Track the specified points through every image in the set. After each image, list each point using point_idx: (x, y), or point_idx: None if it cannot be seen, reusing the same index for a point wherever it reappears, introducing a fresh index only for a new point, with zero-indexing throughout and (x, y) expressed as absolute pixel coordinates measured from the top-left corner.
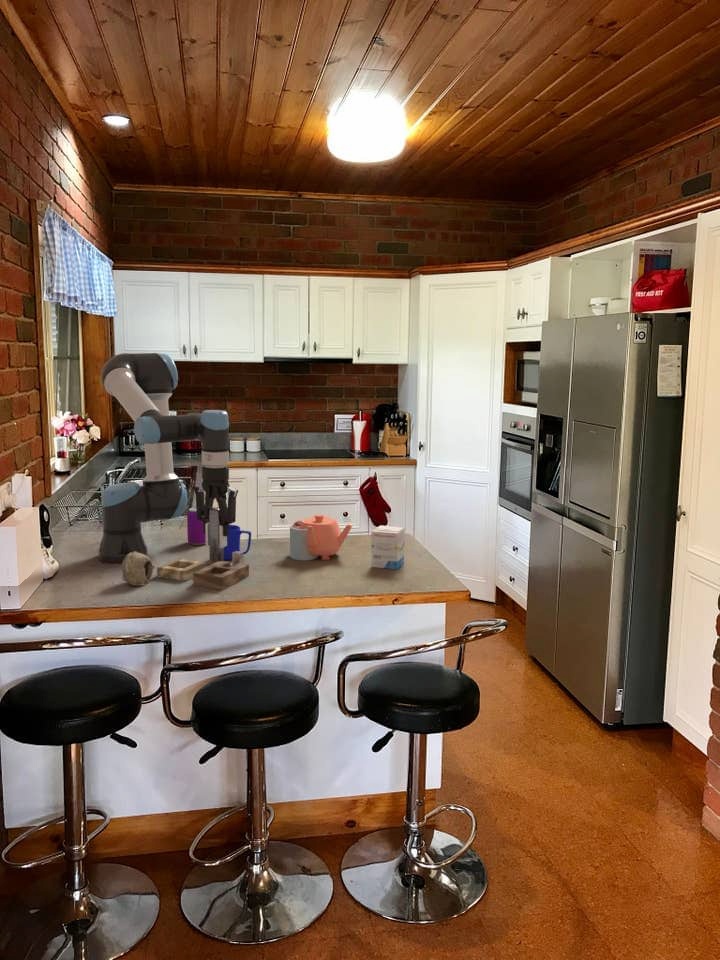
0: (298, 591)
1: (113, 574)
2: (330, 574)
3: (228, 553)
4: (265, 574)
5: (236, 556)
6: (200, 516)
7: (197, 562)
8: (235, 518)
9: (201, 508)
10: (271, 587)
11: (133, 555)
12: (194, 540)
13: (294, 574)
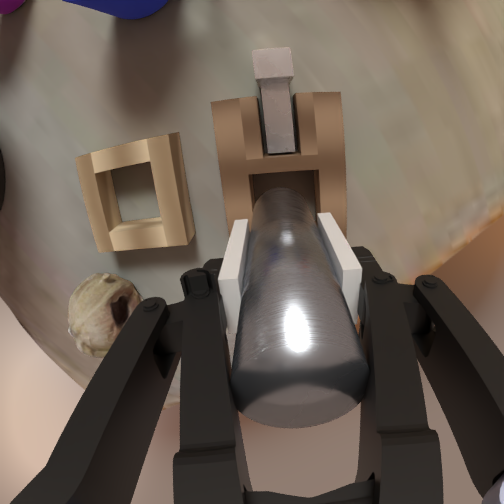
0: (496, 169)
1: (45, 271)
2: (492, 23)
3: (157, 1)
4: (366, 61)
5: (277, 78)
6: (177, 361)
7: (149, 150)
8: (451, 291)
9: (155, 394)
10: (440, 166)
11: (88, 345)
12: (13, 6)
13: (433, 37)
